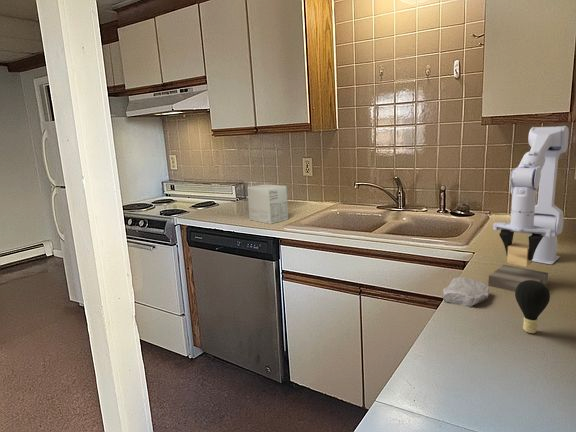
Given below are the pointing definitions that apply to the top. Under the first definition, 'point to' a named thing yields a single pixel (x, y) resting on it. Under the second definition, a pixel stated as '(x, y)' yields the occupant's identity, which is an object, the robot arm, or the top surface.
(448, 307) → the top surface
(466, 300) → the stone block
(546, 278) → the base block
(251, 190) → the supplement box
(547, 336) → the top surface
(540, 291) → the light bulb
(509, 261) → the maple cube
